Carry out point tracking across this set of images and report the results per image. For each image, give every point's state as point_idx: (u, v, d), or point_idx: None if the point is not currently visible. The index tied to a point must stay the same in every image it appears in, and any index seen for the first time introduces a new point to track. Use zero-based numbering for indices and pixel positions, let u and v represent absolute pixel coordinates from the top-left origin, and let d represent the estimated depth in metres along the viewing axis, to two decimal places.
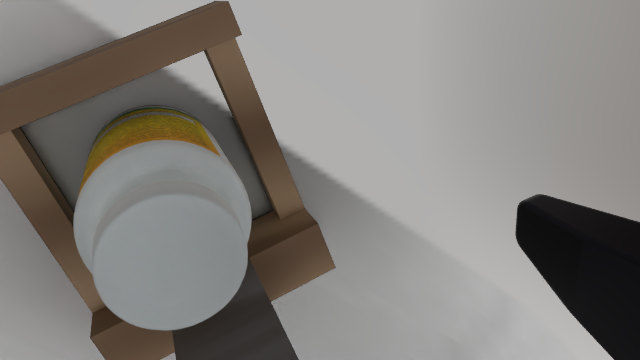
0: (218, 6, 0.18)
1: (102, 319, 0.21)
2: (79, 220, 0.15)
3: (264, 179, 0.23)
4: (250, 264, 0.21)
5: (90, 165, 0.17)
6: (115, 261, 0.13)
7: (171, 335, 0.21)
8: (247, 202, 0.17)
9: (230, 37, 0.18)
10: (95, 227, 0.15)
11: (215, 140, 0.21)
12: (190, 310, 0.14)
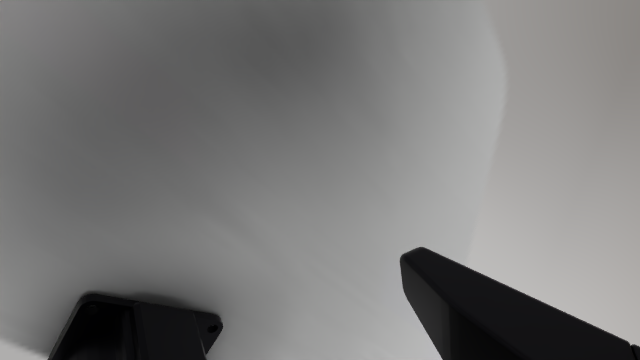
0: None
1: None
2: None
3: None
4: None
5: None
6: None
7: None
8: None
9: None
10: None
11: None
12: None
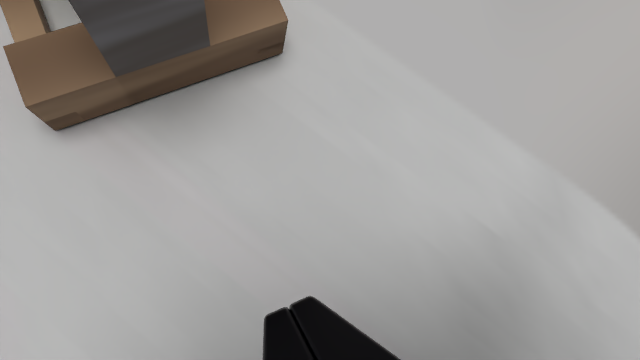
0: None
1: None
2: None
3: None
4: None
5: None
6: None
7: (92, 62, 0.19)
8: None
9: None
10: None
11: None
12: None
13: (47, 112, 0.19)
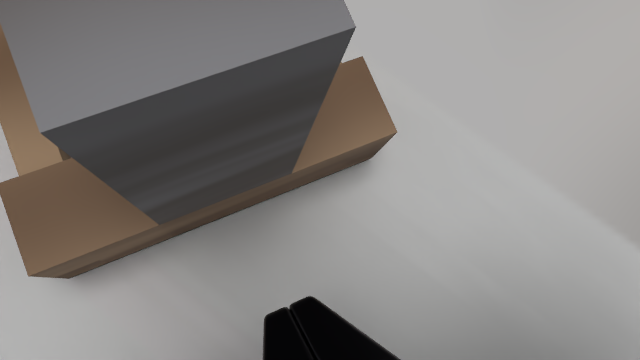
0: None
1: None
2: None
3: None
4: None
5: None
6: None
7: (125, 204, 0.13)
8: None
9: None
10: None
11: None
12: None
13: (59, 271, 0.13)
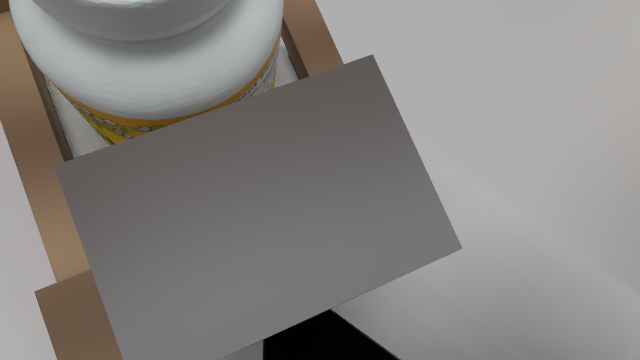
0: None
1: None
2: None
3: None
4: None
5: None
6: None
7: None
8: None
9: None
10: None
11: None
12: None
13: None
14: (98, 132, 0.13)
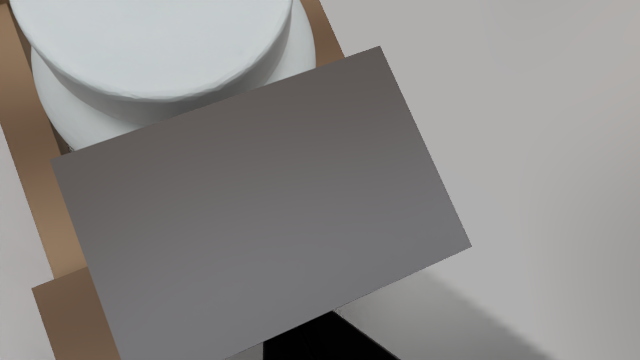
0: None
1: None
2: None
3: None
4: None
5: None
6: None
7: None
8: (307, 20, 0.10)
9: None
10: None
11: None
12: (177, 60, 0.07)
13: None
14: None
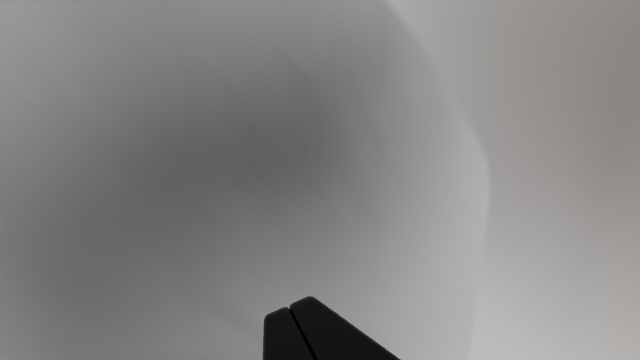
0: None
1: None
2: None
3: None
4: None
5: None
6: None
7: None
8: None
9: None
10: None
11: None
12: None
13: None
14: None
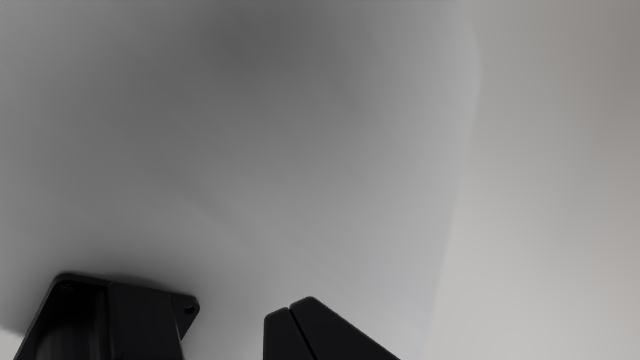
0: None
1: None
2: None
3: None
4: None
5: None
6: None
7: None
8: None
9: None
10: None
11: None
12: None
13: None
14: None
